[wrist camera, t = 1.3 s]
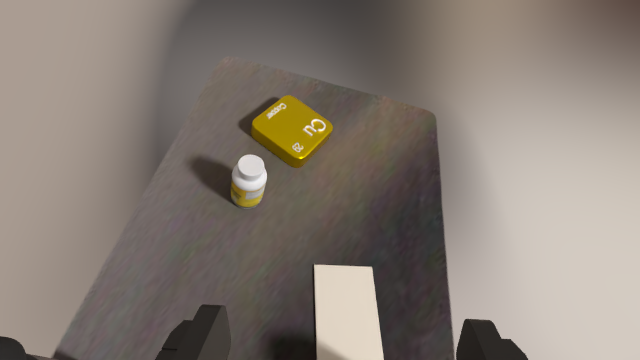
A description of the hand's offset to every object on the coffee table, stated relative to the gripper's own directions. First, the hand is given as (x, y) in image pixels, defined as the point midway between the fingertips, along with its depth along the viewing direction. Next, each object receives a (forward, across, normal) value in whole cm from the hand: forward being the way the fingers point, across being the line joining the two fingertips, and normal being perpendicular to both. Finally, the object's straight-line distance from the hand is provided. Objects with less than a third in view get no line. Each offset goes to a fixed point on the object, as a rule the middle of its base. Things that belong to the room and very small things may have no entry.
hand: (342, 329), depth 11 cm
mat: (+36, +1, -39) cm, 53 cm away
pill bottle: (+51, -20, -23) cm, 59 cm away
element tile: (+68, -13, -15) cm, 71 cm away
